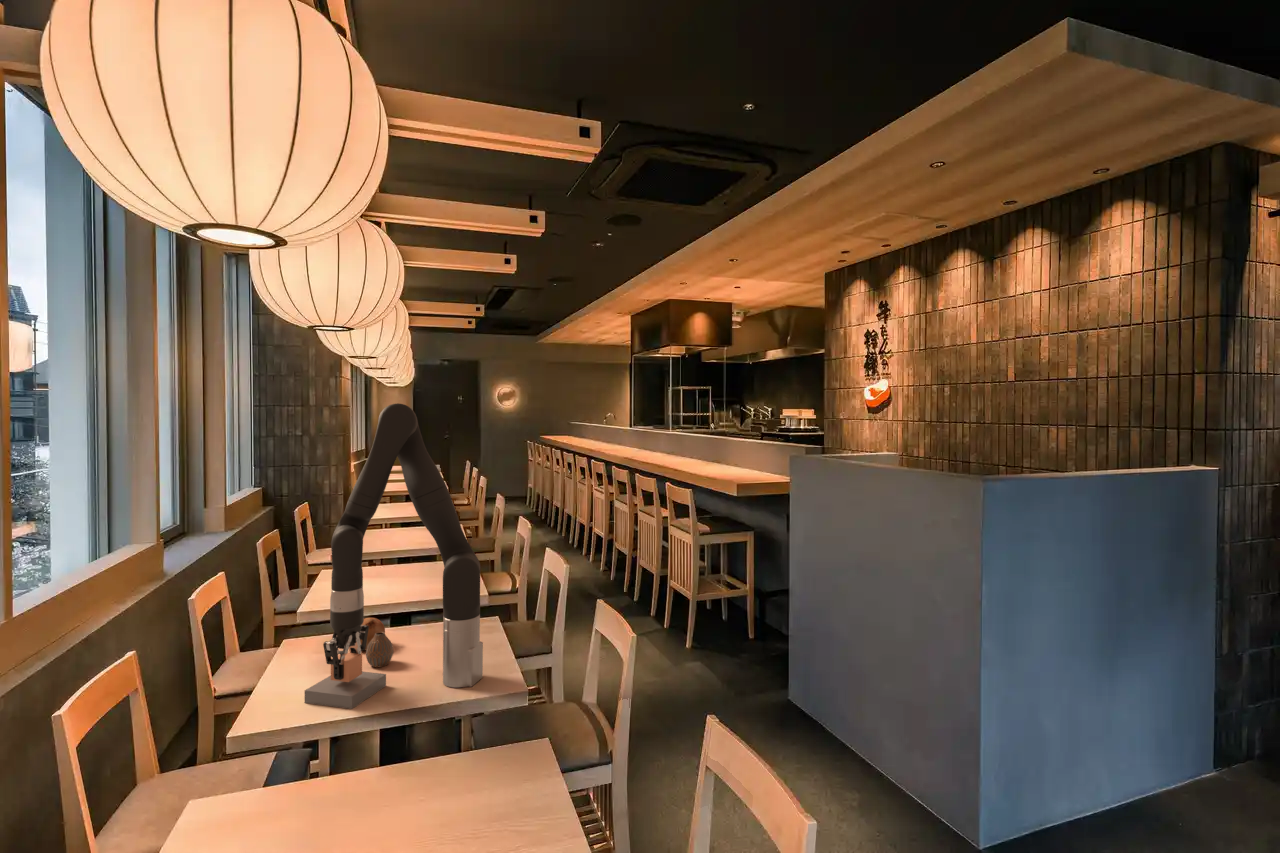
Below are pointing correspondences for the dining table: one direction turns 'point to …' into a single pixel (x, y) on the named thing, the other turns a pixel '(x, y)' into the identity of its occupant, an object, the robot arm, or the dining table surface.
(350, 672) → the block
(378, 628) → the brown round piece
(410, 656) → the dining table surface
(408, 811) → the dining table surface
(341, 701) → the block
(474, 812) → the dining table surface
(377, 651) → the vase
